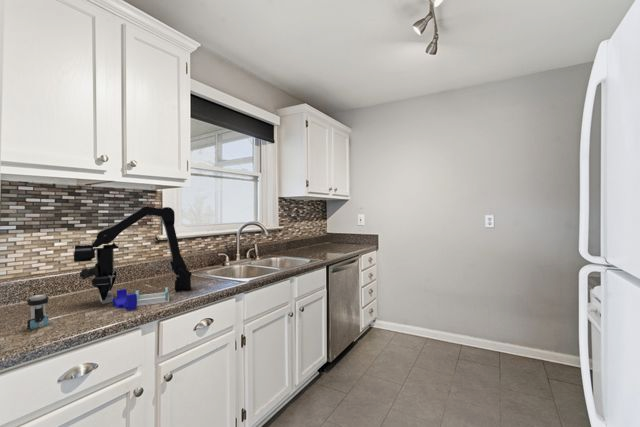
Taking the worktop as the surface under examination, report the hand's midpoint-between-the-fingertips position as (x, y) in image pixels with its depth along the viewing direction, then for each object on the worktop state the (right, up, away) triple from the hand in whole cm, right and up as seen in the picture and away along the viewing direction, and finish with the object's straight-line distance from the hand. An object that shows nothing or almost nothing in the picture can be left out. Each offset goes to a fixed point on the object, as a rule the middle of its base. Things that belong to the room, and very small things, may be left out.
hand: (105, 296), depth 130 cm
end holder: (+20, -2, -1) cm, 20 cm away
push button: (-2, -2, -28) cm, 28 cm away
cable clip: (+13, -2, -8) cm, 16 cm away
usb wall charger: (0, -2, 0) cm, 2 cm away
